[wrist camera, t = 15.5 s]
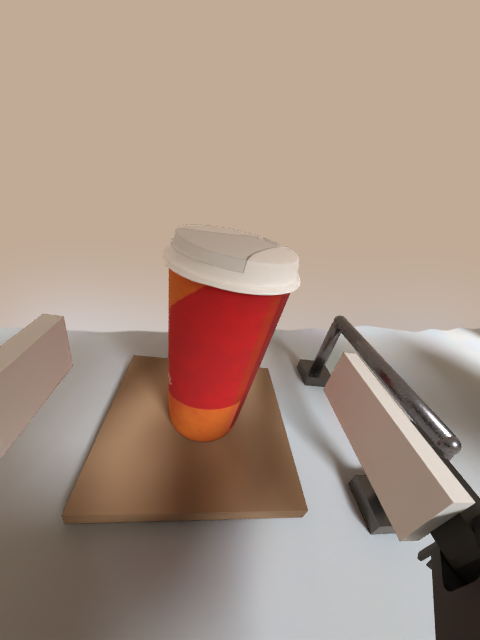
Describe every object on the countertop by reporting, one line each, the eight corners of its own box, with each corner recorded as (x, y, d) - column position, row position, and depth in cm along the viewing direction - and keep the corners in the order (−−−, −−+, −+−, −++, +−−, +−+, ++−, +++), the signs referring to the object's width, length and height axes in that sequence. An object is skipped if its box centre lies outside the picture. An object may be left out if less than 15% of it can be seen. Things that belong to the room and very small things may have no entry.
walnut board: (265, 375, 26) (267, 368, 26) (302, 517, 15) (307, 510, 15) (134, 362, 24) (133, 355, 23) (64, 523, 13) (61, 515, 12)
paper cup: (209, 366, 24) (237, 224, 17) (266, 417, 20) (332, 260, 13) (134, 403, 19) (131, 217, 12) (193, 484, 15) (240, 275, 8)
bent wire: (319, 369, 30) (348, 311, 25) (409, 532, 16) (503, 465, 12) (297, 366, 29) (323, 307, 25) (370, 534, 15) (455, 464, 11)
